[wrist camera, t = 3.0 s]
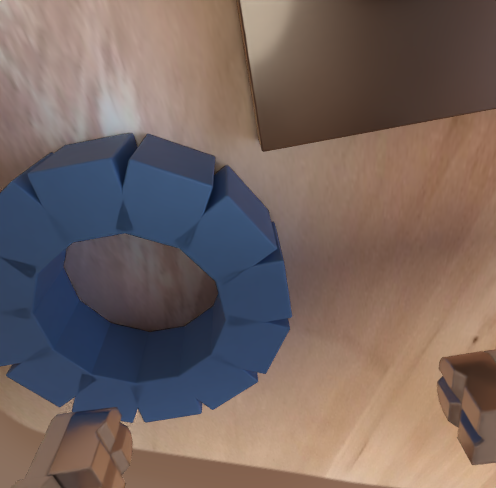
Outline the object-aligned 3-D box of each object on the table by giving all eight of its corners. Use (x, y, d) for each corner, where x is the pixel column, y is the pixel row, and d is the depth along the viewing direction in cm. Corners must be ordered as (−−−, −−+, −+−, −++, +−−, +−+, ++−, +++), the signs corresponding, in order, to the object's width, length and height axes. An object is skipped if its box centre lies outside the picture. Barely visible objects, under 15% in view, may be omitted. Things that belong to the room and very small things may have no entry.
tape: (69, 383, 19) (44, 439, 17) (-55, 167, 14) (-121, 201, 11) (294, 346, 19) (304, 398, 16) (256, 108, 13) (263, 128, 11)
